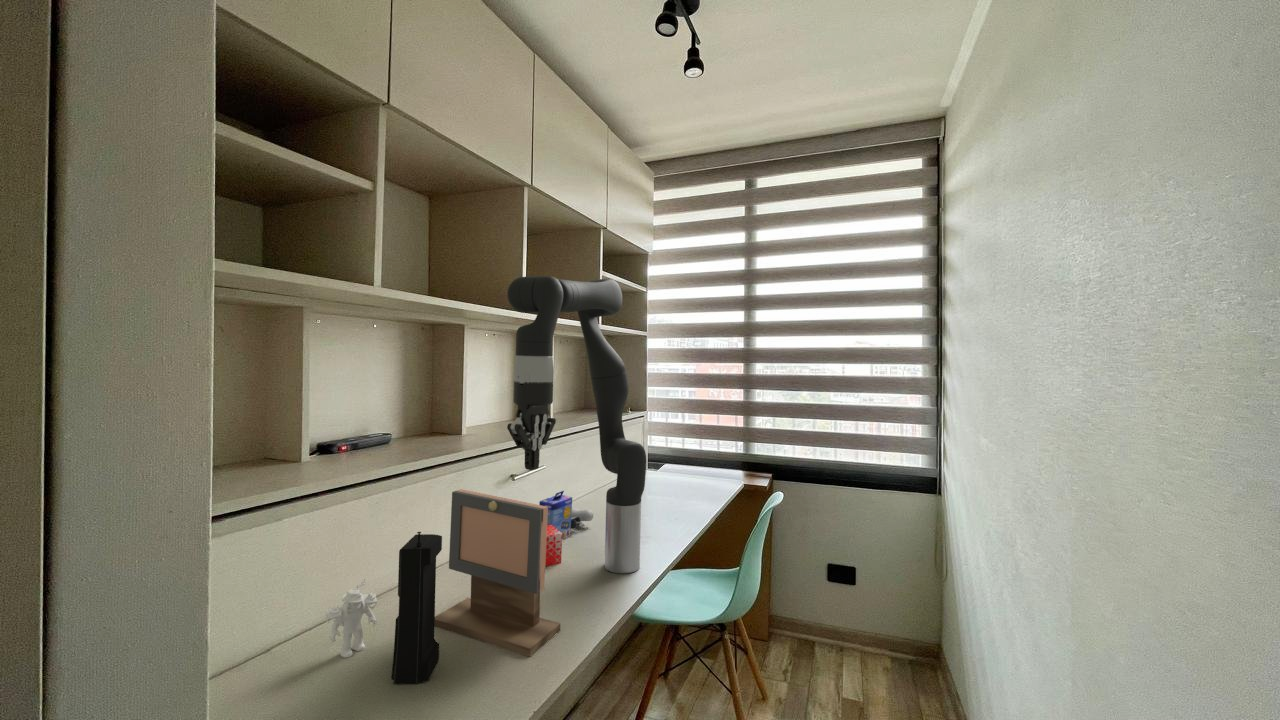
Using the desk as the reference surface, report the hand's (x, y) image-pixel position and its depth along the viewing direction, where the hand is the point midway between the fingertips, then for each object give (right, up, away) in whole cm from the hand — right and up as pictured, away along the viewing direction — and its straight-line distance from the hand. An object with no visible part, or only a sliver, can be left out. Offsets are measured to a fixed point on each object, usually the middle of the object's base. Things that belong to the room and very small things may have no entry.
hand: (531, 468), depth 99 cm
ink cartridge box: (-5, -33, +55) cm, 64 cm away
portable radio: (-18, -33, -11) cm, 39 cm away
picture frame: (-8, -23, +3) cm, 24 cm away
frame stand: (-8, -33, +4) cm, 34 cm away
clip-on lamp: (-3, -33, +67) cm, 75 cm away
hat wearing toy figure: (-32, -32, -5) cm, 46 cm away
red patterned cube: (-5, -33, +39) cm, 51 cm away
